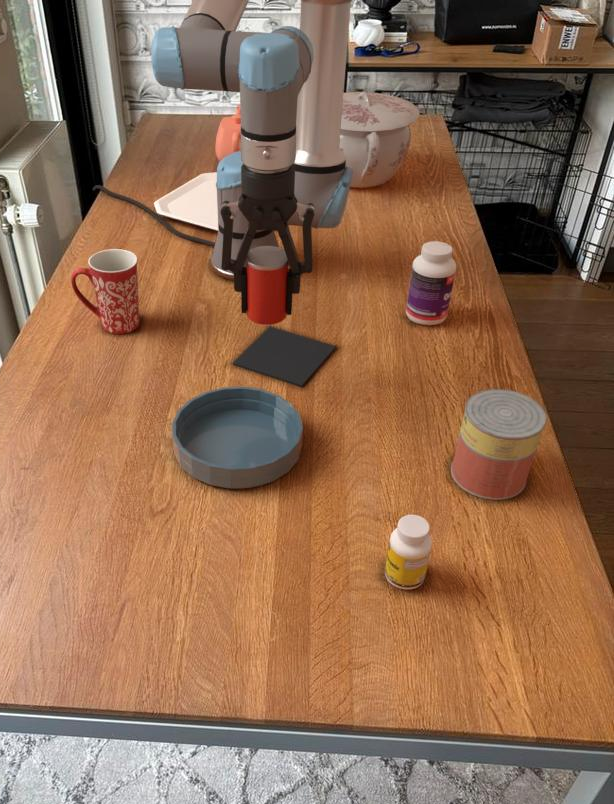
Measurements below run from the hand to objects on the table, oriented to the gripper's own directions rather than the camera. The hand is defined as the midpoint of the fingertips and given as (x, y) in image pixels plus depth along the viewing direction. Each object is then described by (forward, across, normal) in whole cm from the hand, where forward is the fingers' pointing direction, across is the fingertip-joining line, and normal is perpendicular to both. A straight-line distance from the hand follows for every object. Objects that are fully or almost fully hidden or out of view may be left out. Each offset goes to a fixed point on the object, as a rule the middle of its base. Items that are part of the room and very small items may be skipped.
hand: (266, 309), depth 123 cm
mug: (+17, -31, +19) cm, 40 cm away
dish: (+16, -4, -15) cm, 22 cm away
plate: (+18, -14, +73) cm, 77 cm away
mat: (+16, +3, +11) cm, 20 cm away
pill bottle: (+17, +30, +27) cm, 43 cm away
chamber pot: (+18, +17, +94) cm, 97 cm away
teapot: (+18, -14, +103) cm, 105 cm away
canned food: (+16, +35, -19) cm, 43 cm away
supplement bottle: (+16, +21, -40) cm, 48 cm away
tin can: (+1, 0, 0) cm, 1 cm away
